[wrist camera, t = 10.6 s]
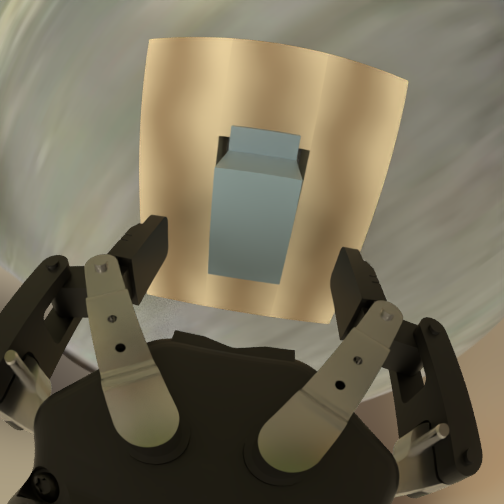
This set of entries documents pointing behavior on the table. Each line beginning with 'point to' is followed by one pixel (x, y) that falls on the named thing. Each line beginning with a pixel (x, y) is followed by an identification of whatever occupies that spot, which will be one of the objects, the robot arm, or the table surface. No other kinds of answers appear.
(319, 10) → the table surface
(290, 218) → the grey-blue stepped block
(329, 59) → the block
